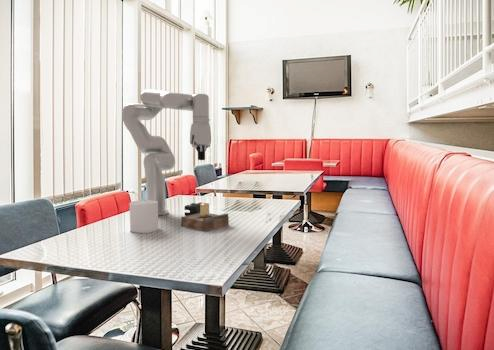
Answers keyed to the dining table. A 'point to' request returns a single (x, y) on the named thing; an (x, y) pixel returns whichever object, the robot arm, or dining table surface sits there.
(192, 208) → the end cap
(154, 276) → the dining table surface
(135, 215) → the cup
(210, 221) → the jig
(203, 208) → the gold peg
